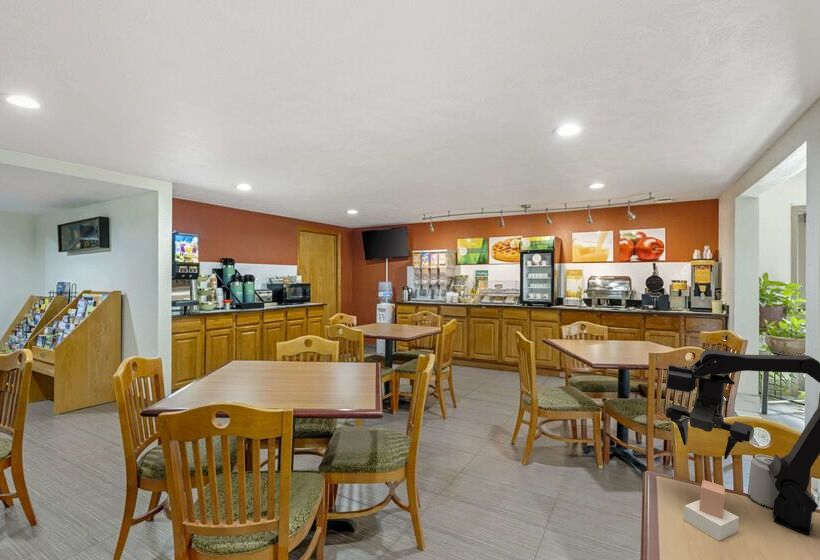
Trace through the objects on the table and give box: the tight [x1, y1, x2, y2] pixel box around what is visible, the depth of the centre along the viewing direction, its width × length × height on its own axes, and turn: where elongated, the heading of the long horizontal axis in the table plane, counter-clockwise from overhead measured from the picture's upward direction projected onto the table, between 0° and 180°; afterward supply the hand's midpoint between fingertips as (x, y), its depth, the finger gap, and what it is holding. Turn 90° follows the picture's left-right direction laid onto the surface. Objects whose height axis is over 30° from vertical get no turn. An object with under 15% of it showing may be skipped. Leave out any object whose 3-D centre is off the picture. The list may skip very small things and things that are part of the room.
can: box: [747, 453, 779, 509], centre depth 109 cm, size 8×8×12 cm
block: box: [699, 479, 726, 518], centre depth 99 cm, size 4×4×6 cm
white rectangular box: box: [682, 499, 740, 541], centre depth 99 cm, size 8×8×4 cm
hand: (704, 451), depth 110 cm, fingers open, 9 cm apart
